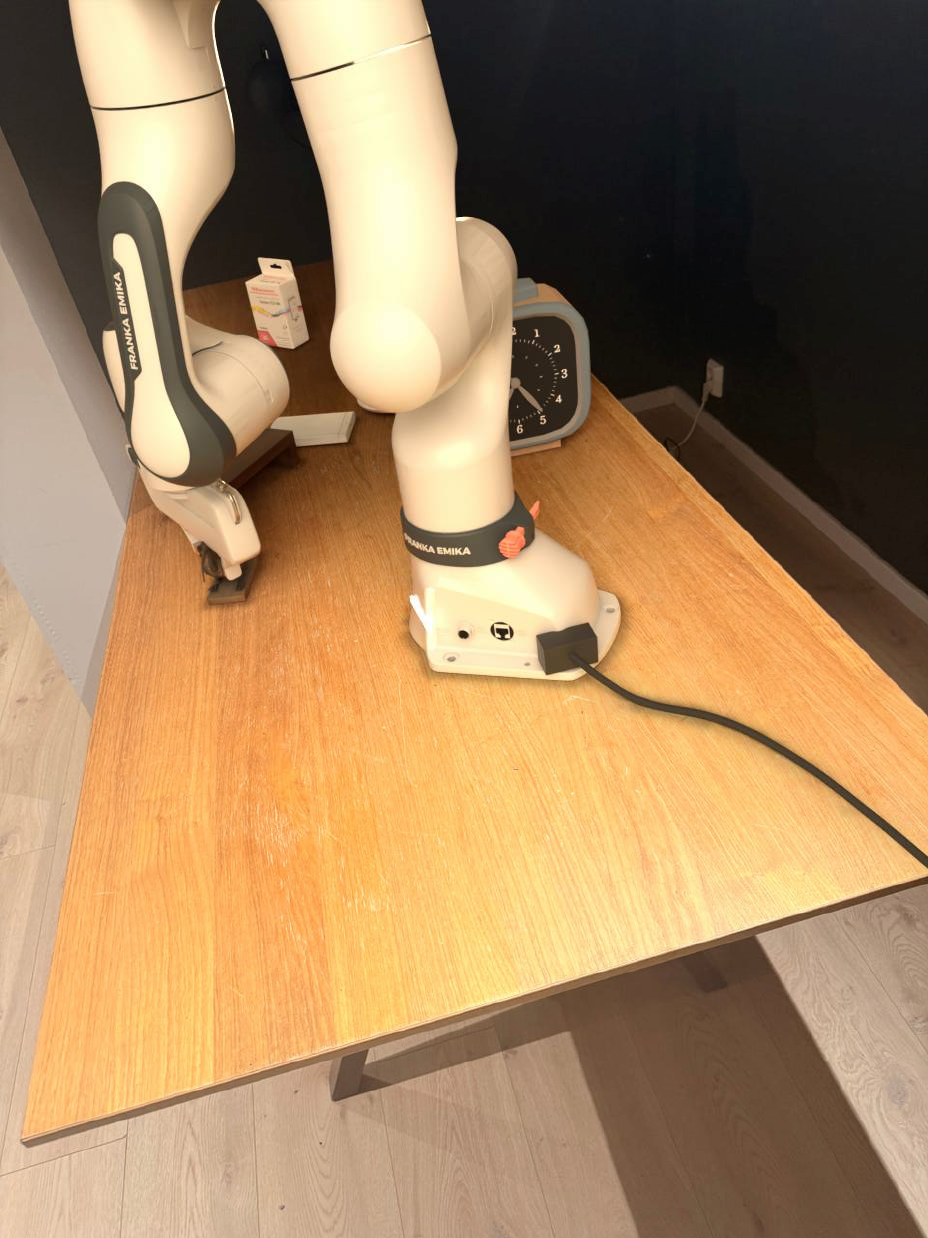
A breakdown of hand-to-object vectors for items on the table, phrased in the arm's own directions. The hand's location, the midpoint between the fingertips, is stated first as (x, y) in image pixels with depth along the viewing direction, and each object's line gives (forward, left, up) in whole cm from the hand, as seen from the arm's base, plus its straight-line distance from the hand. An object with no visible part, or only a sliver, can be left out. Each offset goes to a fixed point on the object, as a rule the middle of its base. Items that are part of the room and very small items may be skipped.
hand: (218, 564), depth 110 cm
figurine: (-1, 0, -4) cm, 4 cm away
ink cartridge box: (+39, -71, -4) cm, 81 cm away
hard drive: (+12, -38, -4) cm, 40 cm away
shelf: (+14, -21, -4) cm, 25 cm away
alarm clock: (-20, -42, -4) cm, 46 cm away
